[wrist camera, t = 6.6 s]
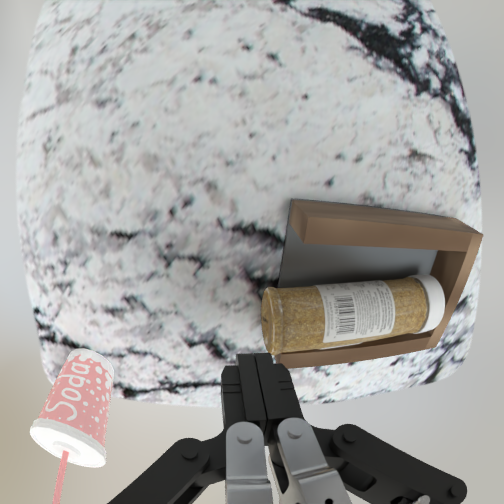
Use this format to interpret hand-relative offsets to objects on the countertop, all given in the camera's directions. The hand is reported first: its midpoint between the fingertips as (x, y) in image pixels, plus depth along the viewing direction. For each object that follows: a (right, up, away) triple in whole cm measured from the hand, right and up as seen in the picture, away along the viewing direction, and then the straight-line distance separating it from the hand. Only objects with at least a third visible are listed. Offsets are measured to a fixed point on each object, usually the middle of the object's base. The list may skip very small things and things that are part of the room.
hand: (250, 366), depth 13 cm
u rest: (+8, +3, +9) cm, 12 cm away
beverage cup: (-14, -5, +10) cm, 18 cm away
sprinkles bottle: (+1, +1, +6) cm, 6 cm away
